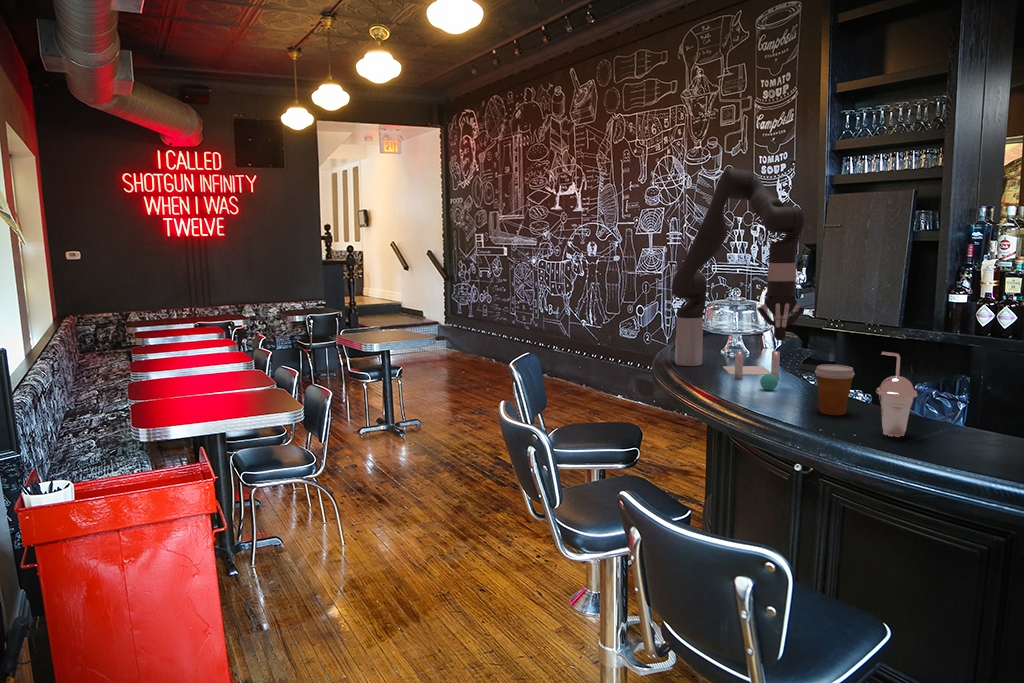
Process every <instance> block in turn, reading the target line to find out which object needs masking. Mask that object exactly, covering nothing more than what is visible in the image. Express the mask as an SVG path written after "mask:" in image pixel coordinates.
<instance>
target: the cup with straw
mask: <svg viewBox="0 0 1024 683" xmlns="http://www.w3.org/2000/svg"><path fill="white" fill-rule="evenodd" d="M879 354H880V355H885V356H889V357H890V356H891V357H893V356H894V357H896V367H895V375H891V376H888V377H886V378H885V379H884V380H883V381H882V382H881V384H880V386H879V387H877V388H876V390H875V393H876V394H877V395H878V396H879V403H880V408H881V409H880V410H881V412H880V413H881V425H882V426H881V427H882V430H883V432H882V434H883V435H885V436H887V435H888V437H893V436H895V438H901V437H900V436H903V437H905V436H906V435H905V432H906V430H907V427H908V421H909V417H910V416H909V415H910V412H911V411H910V410H911V407H912V405H913V402H914V398H916V397H918V391H917V390H916V389H914V386H913V383H912V382H911V381H910V380H909V379H907V378H905V377H904V376H900V371H901V370H900V369H901V356H900V354H899V353H897V352H889V351H881V350H880V351H879ZM904 435H905V436H904Z"/></svg>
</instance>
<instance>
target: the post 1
mask: <svg viewBox="0 0 1024 683" xmlns="http://www.w3.org/2000/svg"><path fill="white" fill-rule="evenodd" d="M734 353H735V357H734V358H735V359H734V366H735V375H734V380H736V381H740V380H741V381H742V380H743V375H742V374H743V366H744V351H740V350H735V352H734Z"/></svg>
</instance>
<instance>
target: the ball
mask: <svg viewBox="0 0 1024 683" xmlns="http://www.w3.org/2000/svg"><path fill="white" fill-rule="evenodd" d="M759 383H760V386H761V388H762V389H763V390H767V391H772V390H775V389H776V388H777V387H778V385H779V380H778V379H777V378H776V376H774V375H773V374H765V375H761V378H760V382H759Z"/></svg>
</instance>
